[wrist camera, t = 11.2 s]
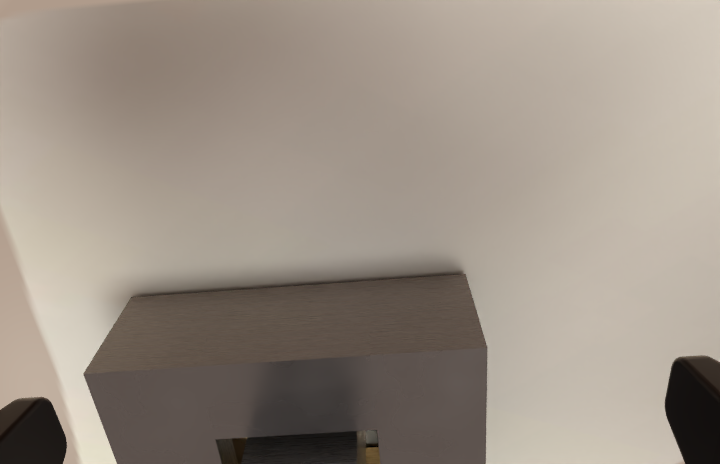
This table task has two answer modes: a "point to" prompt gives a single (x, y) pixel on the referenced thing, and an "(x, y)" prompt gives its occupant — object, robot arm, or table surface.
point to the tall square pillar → (307, 449)
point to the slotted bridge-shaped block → (296, 371)
